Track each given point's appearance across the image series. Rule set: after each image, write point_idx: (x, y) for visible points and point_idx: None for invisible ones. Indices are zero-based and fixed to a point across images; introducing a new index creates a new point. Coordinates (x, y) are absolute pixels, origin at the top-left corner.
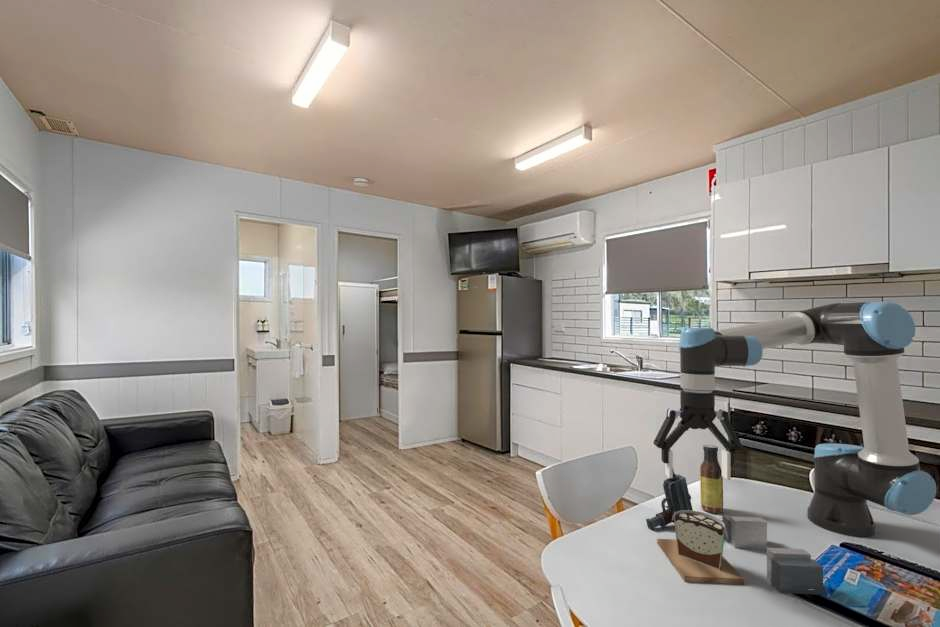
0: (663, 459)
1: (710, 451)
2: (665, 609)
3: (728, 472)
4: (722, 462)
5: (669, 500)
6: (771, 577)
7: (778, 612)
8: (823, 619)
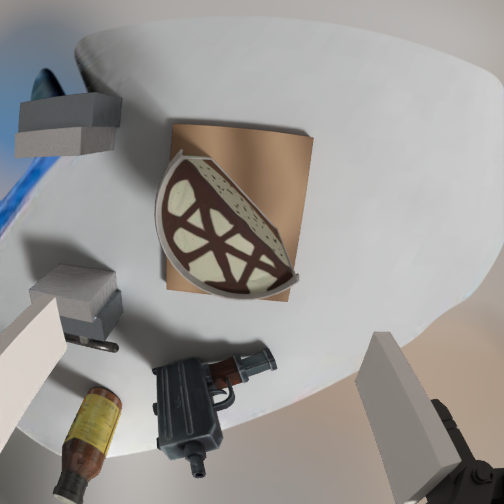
0: (450, 416)
1: (69, 491)
2: (395, 61)
3: (28, 317)
4: (29, 391)
5: (212, 403)
6: (112, 125)
7: (171, 36)
8: (105, 30)
